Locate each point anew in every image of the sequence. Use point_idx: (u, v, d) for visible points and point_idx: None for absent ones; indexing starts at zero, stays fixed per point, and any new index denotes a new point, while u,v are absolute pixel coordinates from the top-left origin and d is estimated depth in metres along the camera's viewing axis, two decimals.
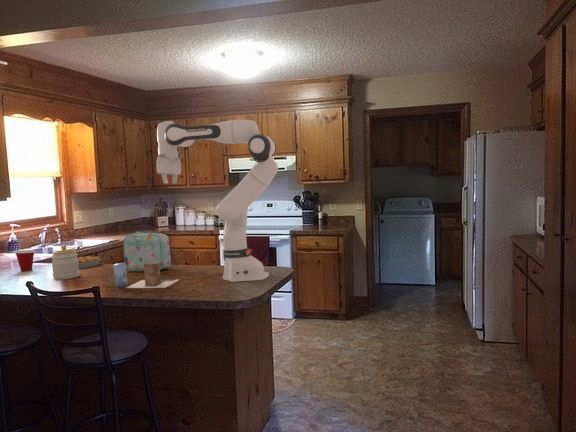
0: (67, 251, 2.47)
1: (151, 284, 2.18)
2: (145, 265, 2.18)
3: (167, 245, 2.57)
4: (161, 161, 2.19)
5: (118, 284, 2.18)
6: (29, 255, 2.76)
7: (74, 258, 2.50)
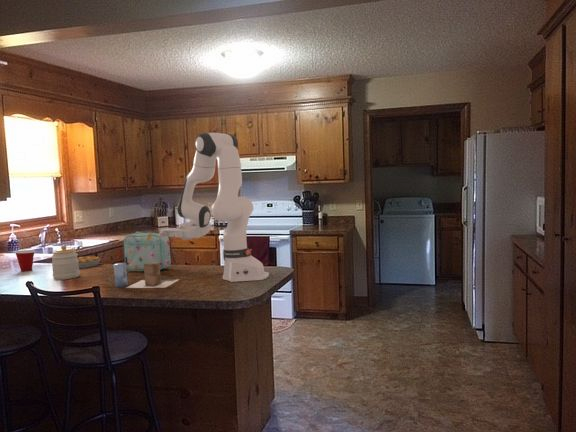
0: (67, 251, 2.47)
1: (151, 284, 2.18)
2: (145, 265, 2.18)
3: (167, 245, 2.57)
4: None
5: (118, 284, 2.18)
6: (29, 255, 2.76)
7: (74, 258, 2.50)
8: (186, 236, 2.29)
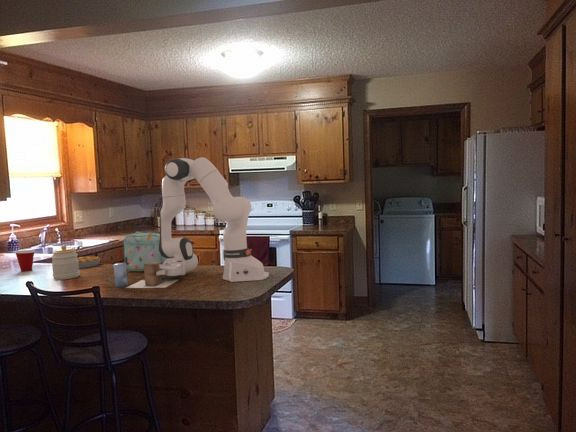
0: (67, 251, 2.47)
1: (151, 284, 2.18)
2: (145, 265, 2.18)
3: None
4: None
5: (118, 284, 2.18)
6: (29, 255, 2.76)
7: (74, 258, 2.50)
8: (170, 274, 2.19)
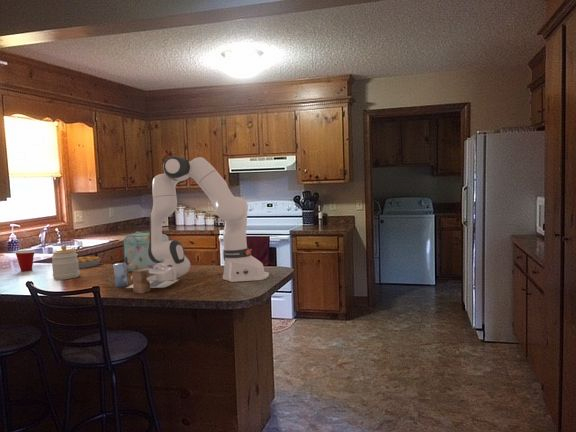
0: (67, 251, 2.47)
1: (140, 292, 2.05)
2: (133, 272, 2.05)
3: None
4: None
5: (118, 284, 2.18)
6: (29, 255, 2.76)
7: (74, 258, 2.50)
8: (160, 279, 2.07)
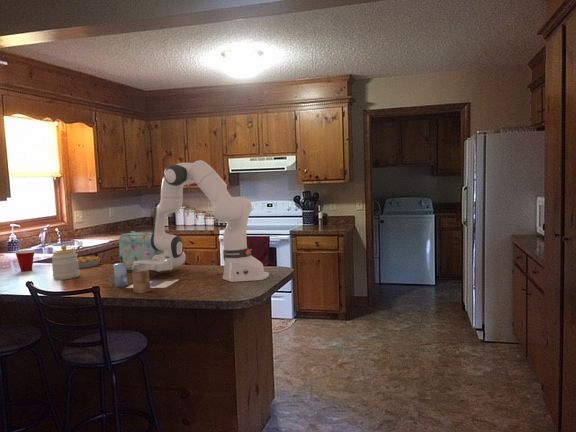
0: (67, 251, 2.47)
1: (140, 292, 2.05)
2: (133, 272, 2.05)
3: None
4: None
5: (118, 284, 2.18)
6: (29, 255, 2.76)
7: (74, 258, 2.50)
8: (158, 269, 2.31)
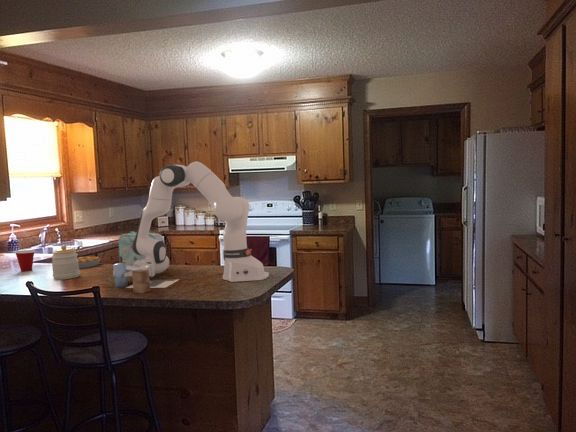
0: (67, 251, 2.47)
1: (140, 292, 2.05)
2: (133, 272, 2.05)
3: None
4: None
5: (118, 284, 2.18)
6: (29, 255, 2.76)
7: (74, 258, 2.50)
8: None
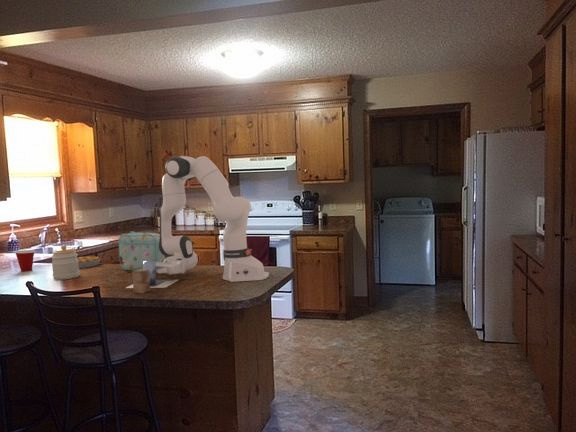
0: (67, 251, 2.47)
1: (140, 292, 2.05)
2: (133, 272, 2.05)
3: None
4: None
5: None
6: (29, 255, 2.76)
7: (74, 258, 2.50)
8: (170, 272, 2.19)
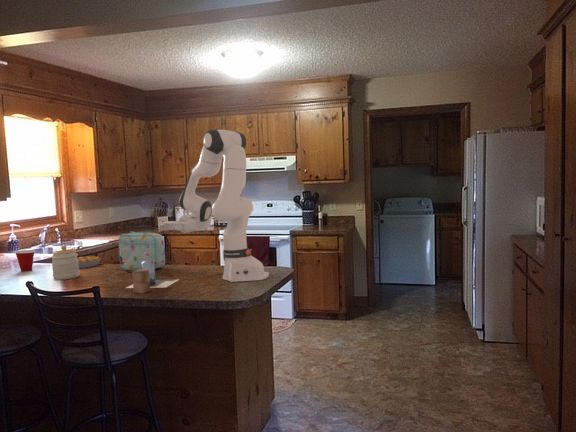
0: (67, 251, 2.47)
1: (140, 292, 2.05)
2: (133, 272, 2.05)
3: (161, 245, 2.60)
4: None
5: None
6: (29, 255, 2.76)
7: (74, 258, 2.50)
8: (186, 228, 2.28)
